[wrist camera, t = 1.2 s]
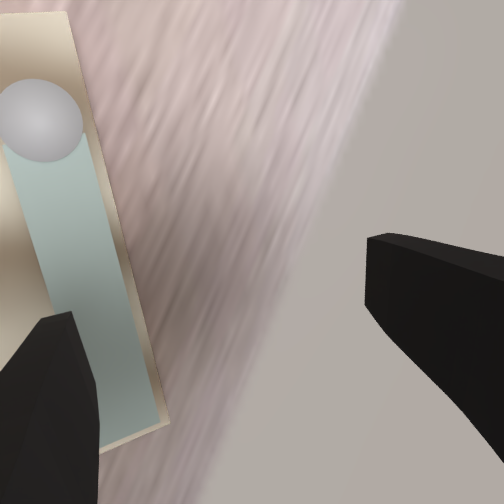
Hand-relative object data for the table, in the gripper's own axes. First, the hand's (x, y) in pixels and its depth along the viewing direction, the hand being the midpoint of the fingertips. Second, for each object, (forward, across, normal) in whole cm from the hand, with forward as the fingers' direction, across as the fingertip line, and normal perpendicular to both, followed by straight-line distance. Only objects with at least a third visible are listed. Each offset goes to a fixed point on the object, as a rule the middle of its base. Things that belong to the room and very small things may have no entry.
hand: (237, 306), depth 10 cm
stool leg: (+8, +4, +2) cm, 10 cm away
